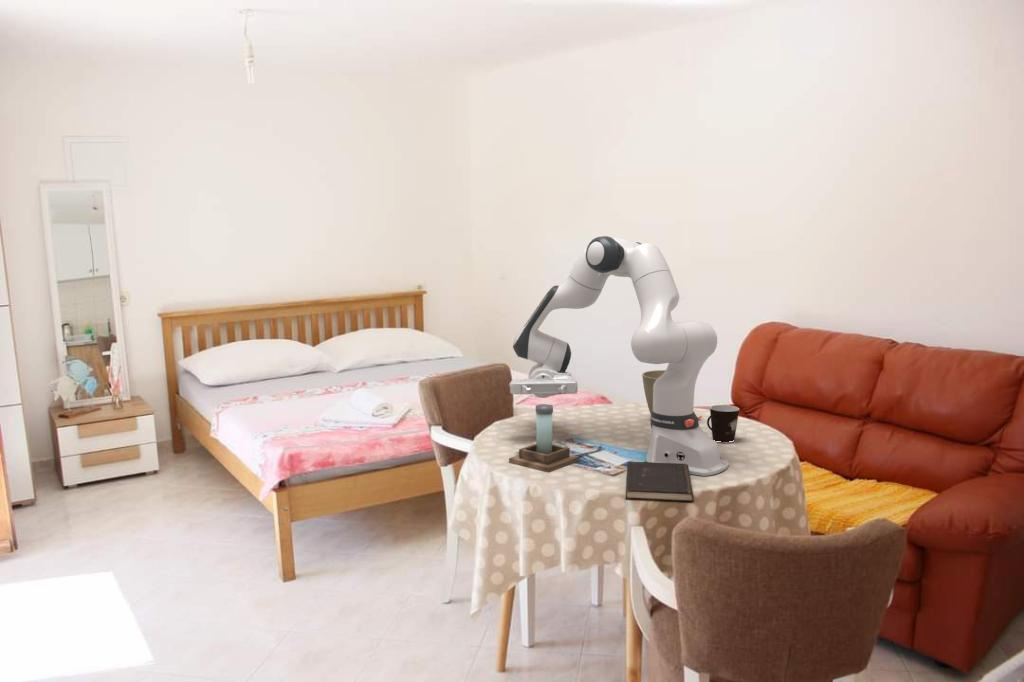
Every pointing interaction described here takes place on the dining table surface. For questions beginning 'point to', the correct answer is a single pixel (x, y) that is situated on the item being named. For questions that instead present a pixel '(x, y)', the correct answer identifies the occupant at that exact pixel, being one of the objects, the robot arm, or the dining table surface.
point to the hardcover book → (658, 482)
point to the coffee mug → (723, 422)
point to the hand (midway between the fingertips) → (544, 391)
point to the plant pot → (650, 385)
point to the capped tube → (544, 428)
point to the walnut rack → (544, 458)
